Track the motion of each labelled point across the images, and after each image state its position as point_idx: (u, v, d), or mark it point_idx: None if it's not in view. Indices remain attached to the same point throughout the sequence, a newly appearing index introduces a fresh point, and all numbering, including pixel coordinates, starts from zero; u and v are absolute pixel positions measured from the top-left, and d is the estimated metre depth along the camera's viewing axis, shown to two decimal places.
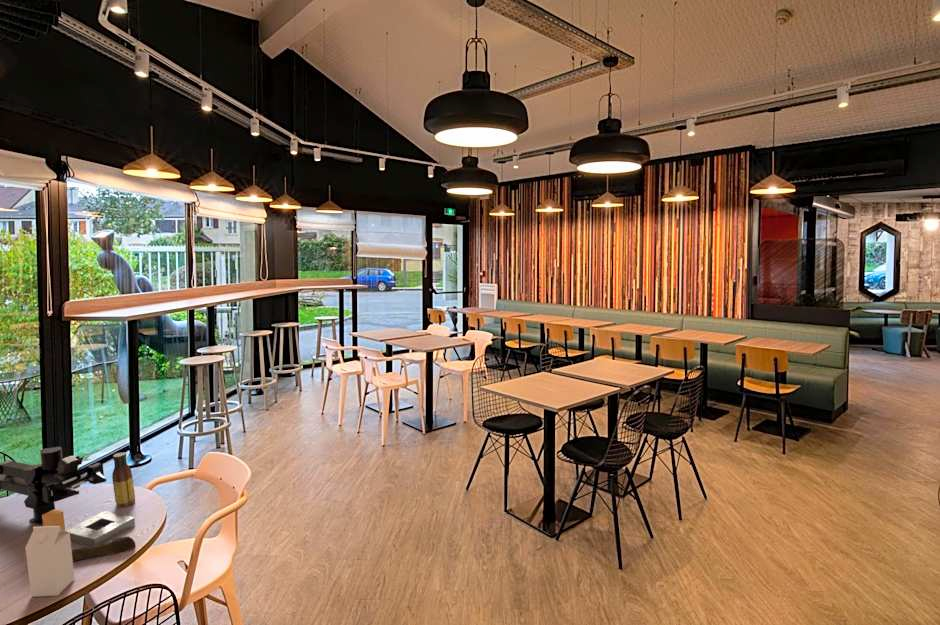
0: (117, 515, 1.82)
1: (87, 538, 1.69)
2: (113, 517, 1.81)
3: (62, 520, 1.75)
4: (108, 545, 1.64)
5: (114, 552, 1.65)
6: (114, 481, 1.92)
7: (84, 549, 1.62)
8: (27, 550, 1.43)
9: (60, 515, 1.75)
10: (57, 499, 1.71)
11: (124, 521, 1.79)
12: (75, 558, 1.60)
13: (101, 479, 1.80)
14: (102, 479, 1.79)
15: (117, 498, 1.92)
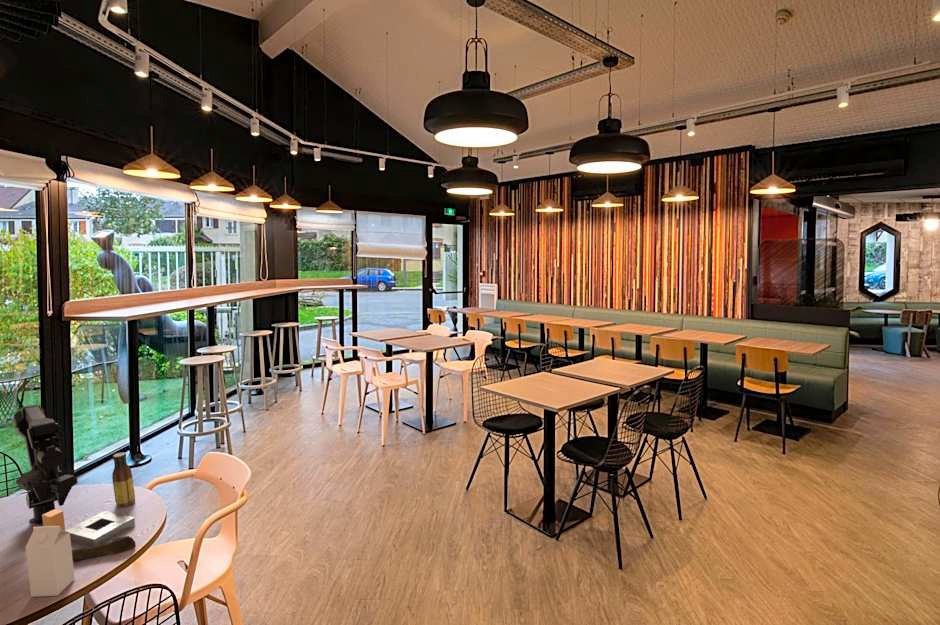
0: (117, 515, 1.82)
1: (87, 538, 1.69)
2: (113, 517, 1.81)
3: (62, 520, 1.75)
4: (108, 545, 1.64)
5: (114, 552, 1.65)
6: (114, 481, 1.92)
7: (84, 549, 1.62)
8: (27, 550, 1.43)
9: (60, 515, 1.75)
10: None
11: (124, 521, 1.79)
12: (75, 558, 1.60)
13: None
14: None
15: (117, 498, 1.92)
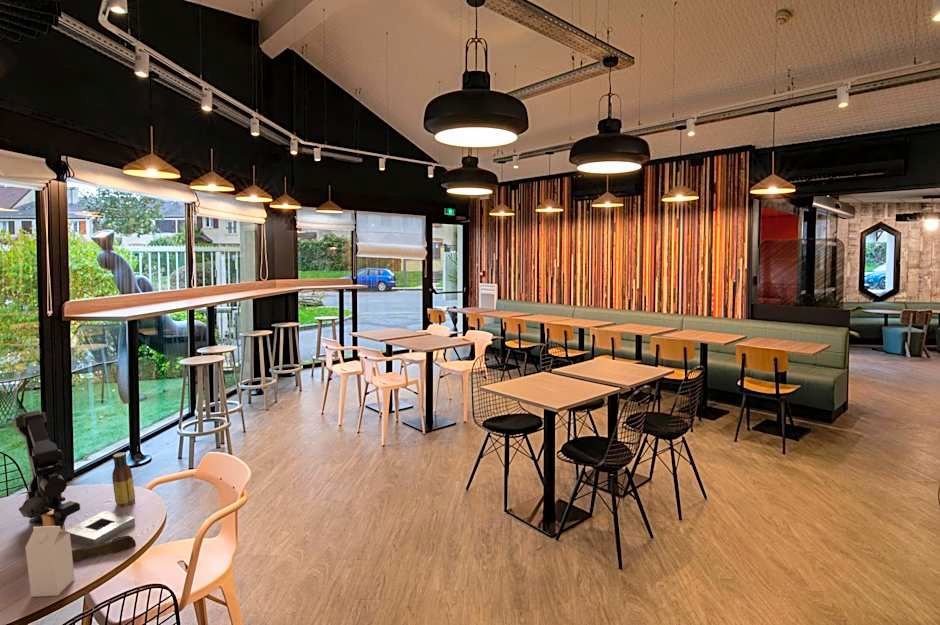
0: (117, 515, 1.82)
1: (87, 538, 1.69)
2: (113, 517, 1.81)
3: None
4: (108, 544, 1.64)
5: (114, 551, 1.65)
6: (114, 481, 1.92)
7: (84, 549, 1.62)
8: (27, 550, 1.43)
9: None
10: None
11: (124, 521, 1.79)
12: (75, 558, 1.60)
13: None
14: None
15: (117, 498, 1.92)
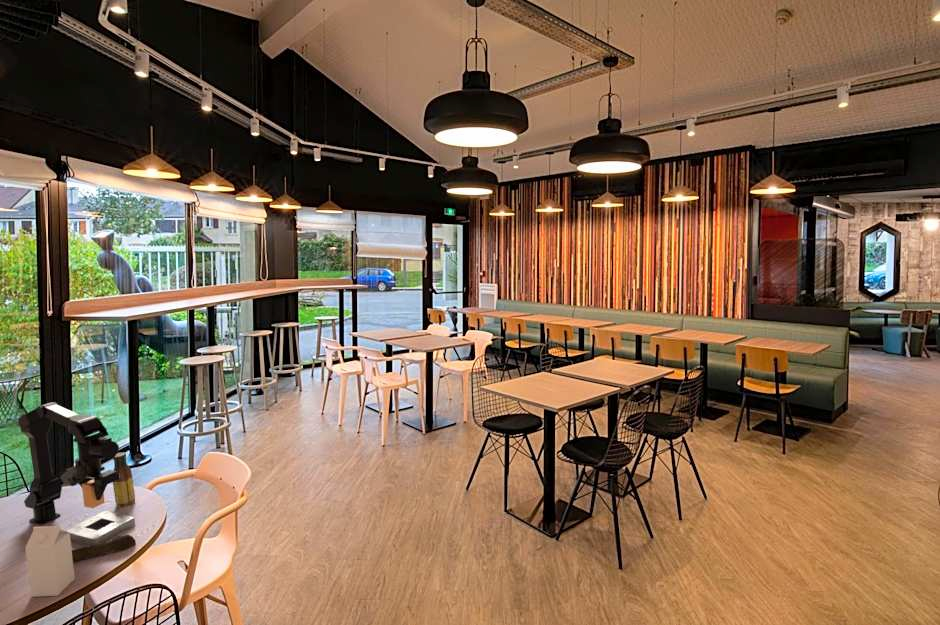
0: (117, 515, 1.82)
1: (87, 538, 1.69)
2: (113, 517, 1.81)
3: None
4: (108, 544, 1.65)
5: (115, 550, 1.65)
6: (114, 481, 1.92)
7: (84, 549, 1.62)
8: (27, 550, 1.43)
9: None
10: None
11: (124, 521, 1.79)
12: (75, 558, 1.60)
13: None
14: None
15: (117, 498, 1.92)
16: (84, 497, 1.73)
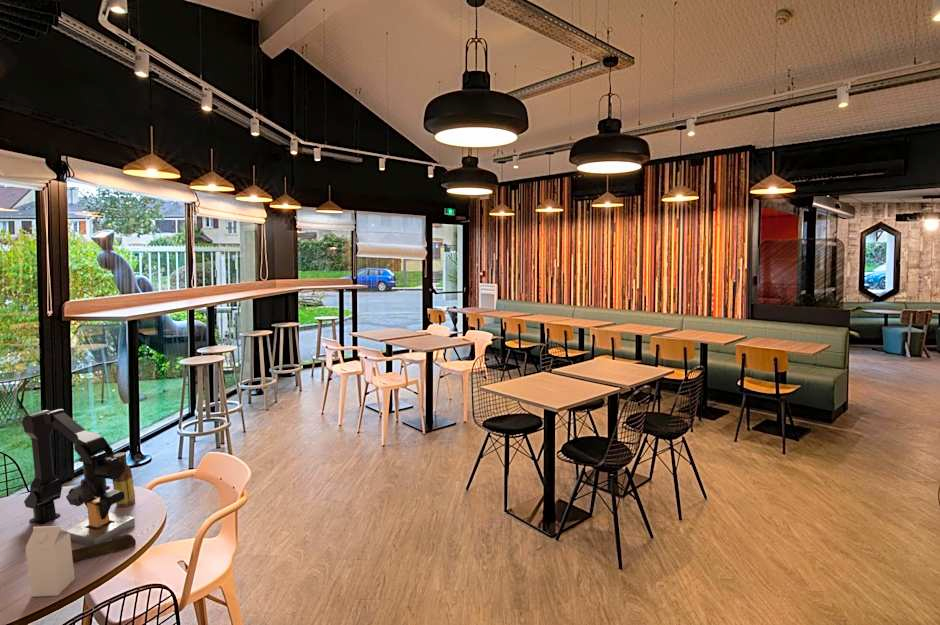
0: (117, 515, 1.82)
1: (87, 538, 1.69)
2: (113, 517, 1.81)
3: None
4: (109, 543, 1.65)
5: (115, 550, 1.66)
6: (114, 481, 1.92)
7: (84, 549, 1.62)
8: (27, 550, 1.43)
9: None
10: None
11: (124, 521, 1.79)
12: (75, 558, 1.60)
13: None
14: None
15: None
16: (89, 516, 1.74)
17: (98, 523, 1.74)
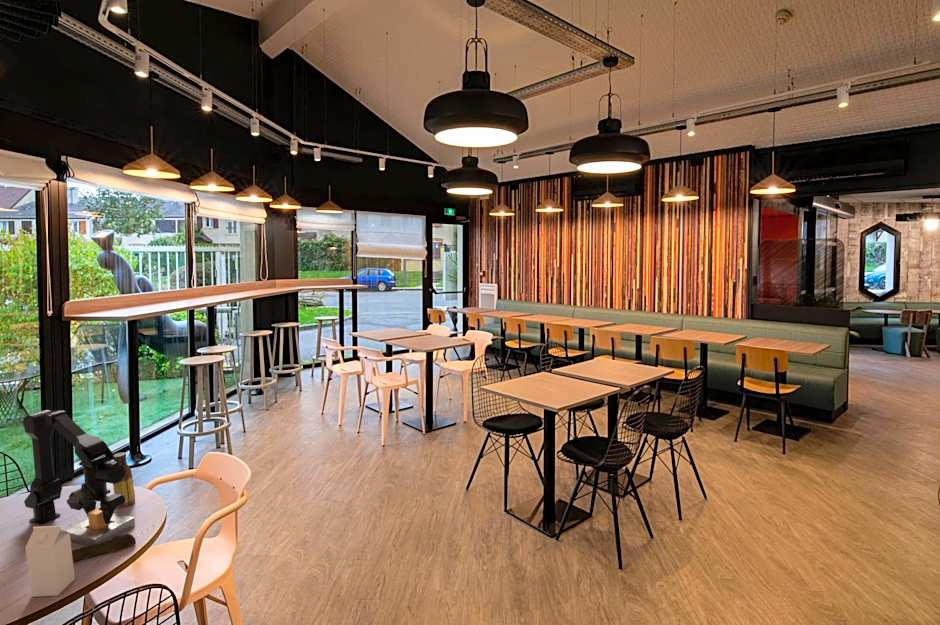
0: (117, 515, 1.82)
1: (87, 538, 1.69)
2: (113, 517, 1.81)
3: None
4: (109, 543, 1.65)
5: (115, 550, 1.66)
6: None
7: (84, 549, 1.62)
8: (27, 550, 1.43)
9: None
10: None
11: (124, 521, 1.79)
12: (75, 558, 1.60)
13: None
14: None
15: None
16: (90, 525, 1.75)
17: None
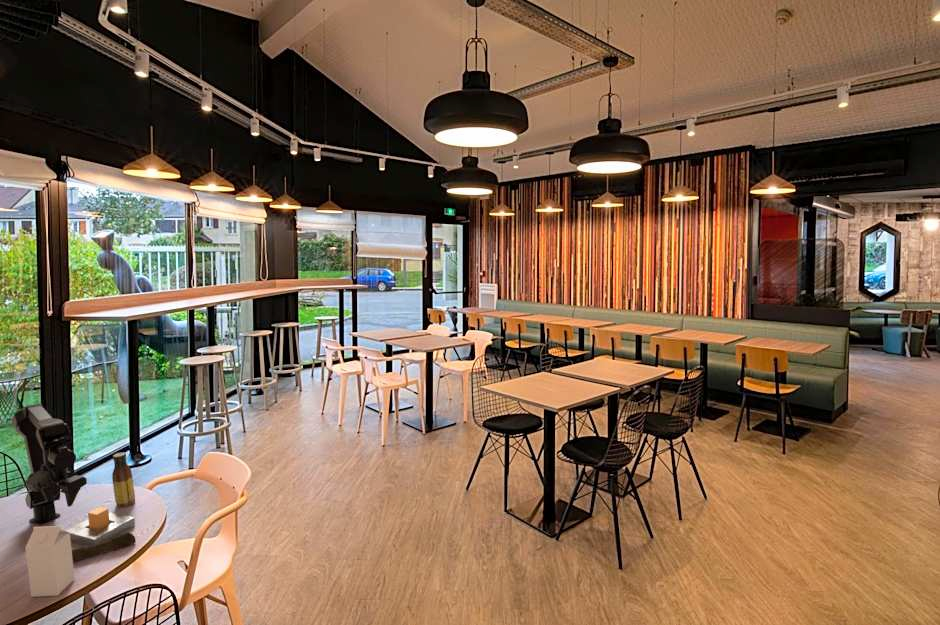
0: (117, 515, 1.82)
1: (87, 538, 1.69)
2: (113, 517, 1.81)
3: (107, 518, 1.77)
4: (109, 542, 1.66)
5: (115, 548, 1.67)
6: (114, 481, 1.92)
7: (84, 548, 1.62)
8: (27, 550, 1.43)
9: (105, 513, 1.76)
10: None
11: (124, 521, 1.79)
12: (76, 558, 1.60)
13: None
14: None
15: (117, 498, 1.92)
16: (90, 525, 1.75)
17: None
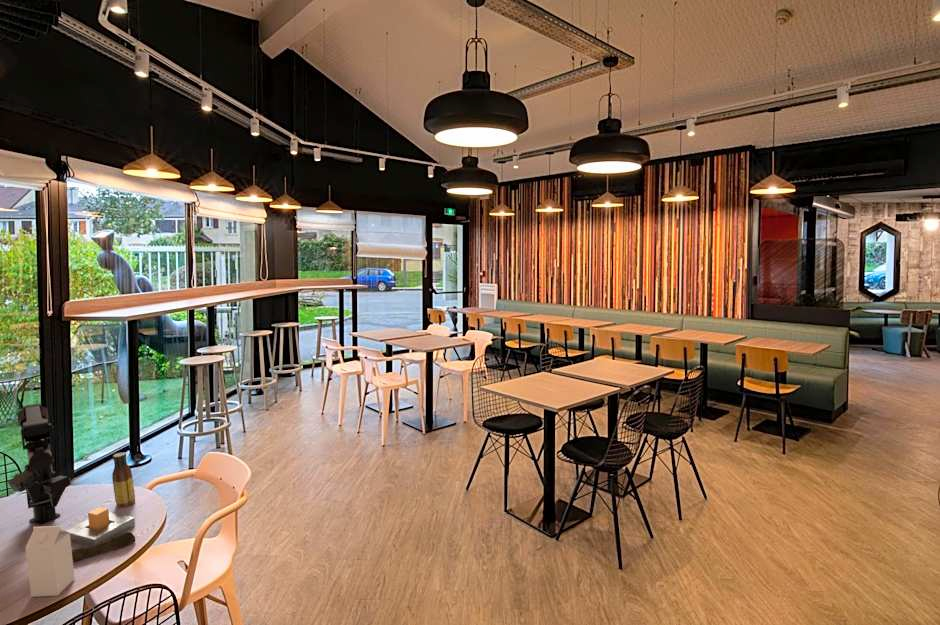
0: (117, 515, 1.82)
1: (87, 538, 1.69)
2: (113, 517, 1.81)
3: (107, 518, 1.77)
4: (109, 541, 1.66)
5: (115, 548, 1.67)
6: (114, 481, 1.92)
7: (84, 548, 1.62)
8: (27, 550, 1.43)
9: (105, 513, 1.76)
10: None
11: (124, 521, 1.79)
12: (76, 558, 1.60)
13: None
14: None
15: (117, 498, 1.92)
16: (90, 525, 1.75)
17: None
